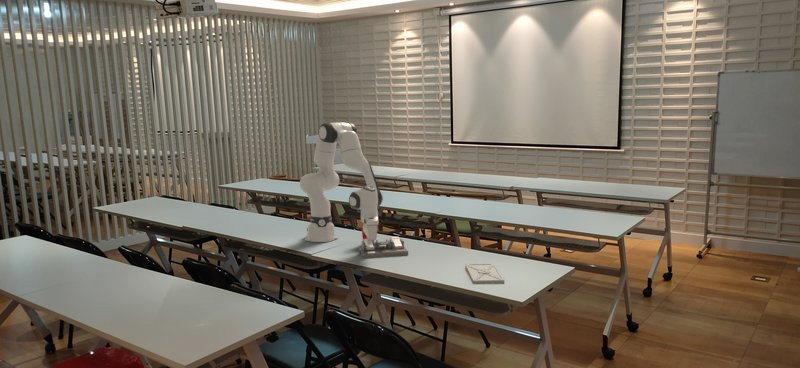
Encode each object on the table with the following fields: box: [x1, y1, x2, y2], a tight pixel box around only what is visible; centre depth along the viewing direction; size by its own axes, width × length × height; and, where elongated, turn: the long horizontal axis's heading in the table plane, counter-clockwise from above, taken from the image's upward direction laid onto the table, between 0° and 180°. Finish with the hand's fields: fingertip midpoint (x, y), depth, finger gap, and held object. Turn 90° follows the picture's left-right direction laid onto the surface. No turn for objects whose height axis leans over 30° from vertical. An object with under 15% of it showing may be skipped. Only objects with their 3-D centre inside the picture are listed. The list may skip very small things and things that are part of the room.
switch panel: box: [359, 238, 409, 259], centre depth 305 cm, size 14×23×6 cm, turn 104°
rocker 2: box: [378, 240, 389, 246], centre depth 307 cm, size 10×4×1 cm, turn 14°
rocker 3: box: [390, 236, 403, 249], centre depth 309 cm, size 10×4×1 cm, turn 13°
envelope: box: [465, 263, 505, 284], centre depth 267 cm, size 24×2×14 cm
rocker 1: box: [362, 238, 374, 250], centre depth 305 cm, size 10×4×1 cm, turn 14°
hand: (369, 244), depth 301 cm, fingers closed
